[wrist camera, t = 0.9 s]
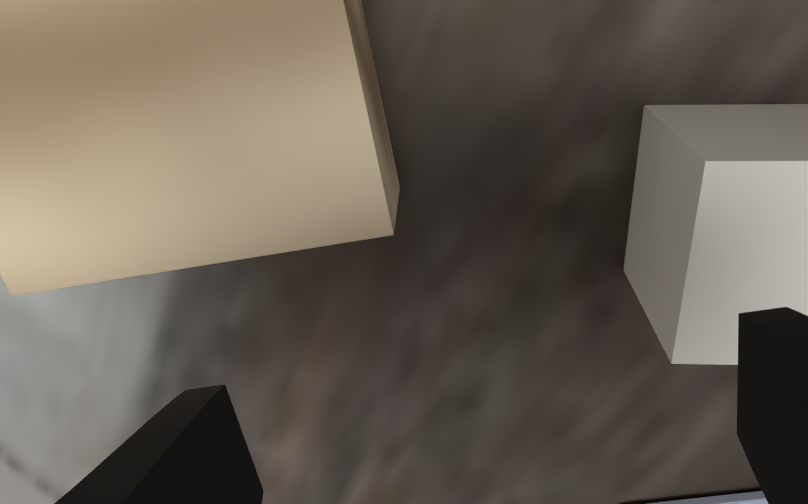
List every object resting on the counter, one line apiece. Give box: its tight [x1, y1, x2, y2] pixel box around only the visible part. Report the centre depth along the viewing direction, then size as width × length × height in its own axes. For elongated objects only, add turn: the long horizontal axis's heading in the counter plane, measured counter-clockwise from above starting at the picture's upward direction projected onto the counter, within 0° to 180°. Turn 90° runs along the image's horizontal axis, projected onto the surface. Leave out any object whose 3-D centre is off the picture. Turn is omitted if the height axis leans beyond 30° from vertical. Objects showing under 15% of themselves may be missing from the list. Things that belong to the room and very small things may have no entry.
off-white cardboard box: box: [623, 104, 808, 365], centre depth 15 cm, size 5×5×6 cm
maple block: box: [0, 0, 400, 296], centre depth 15 cm, size 9×9×3 cm
